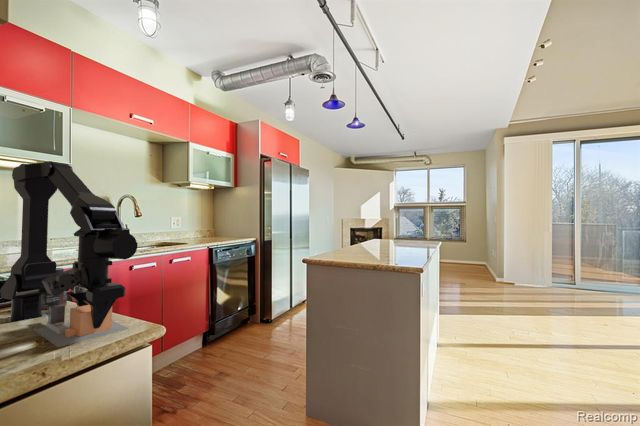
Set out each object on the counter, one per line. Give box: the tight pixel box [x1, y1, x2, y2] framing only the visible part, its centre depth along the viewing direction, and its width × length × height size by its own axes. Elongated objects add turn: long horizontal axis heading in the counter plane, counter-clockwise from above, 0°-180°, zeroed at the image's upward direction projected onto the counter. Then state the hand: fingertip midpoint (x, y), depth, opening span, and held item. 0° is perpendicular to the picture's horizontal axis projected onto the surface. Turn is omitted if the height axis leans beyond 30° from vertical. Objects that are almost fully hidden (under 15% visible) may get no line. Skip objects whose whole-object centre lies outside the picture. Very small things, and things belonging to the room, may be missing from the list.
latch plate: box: [32, 320, 130, 348], centre depth 69 cm, size 16×13×2 cm
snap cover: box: [65, 305, 113, 337], centre depth 68 cm, size 6×8×5 cm
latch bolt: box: [41, 304, 66, 325], centre depth 69 cm, size 10×2×4 cm, turn 57°
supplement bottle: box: [42, 267, 68, 311], centre depth 88 cm, size 6×6×11 cm
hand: (90, 325), depth 69 cm, fingers closed on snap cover, 6 cm apart
